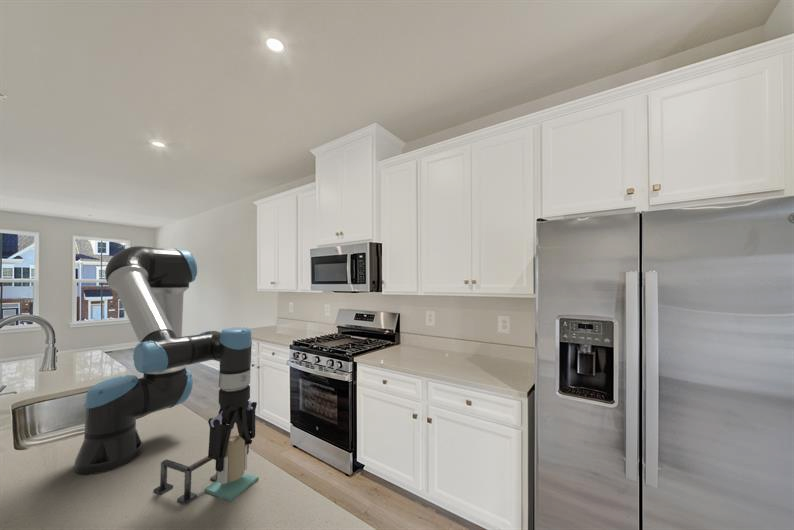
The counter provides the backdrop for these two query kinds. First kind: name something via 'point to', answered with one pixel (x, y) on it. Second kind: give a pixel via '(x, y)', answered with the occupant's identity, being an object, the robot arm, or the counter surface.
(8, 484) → the counter surface
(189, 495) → the handrail
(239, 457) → the candle
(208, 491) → the pad
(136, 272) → the robot arm
